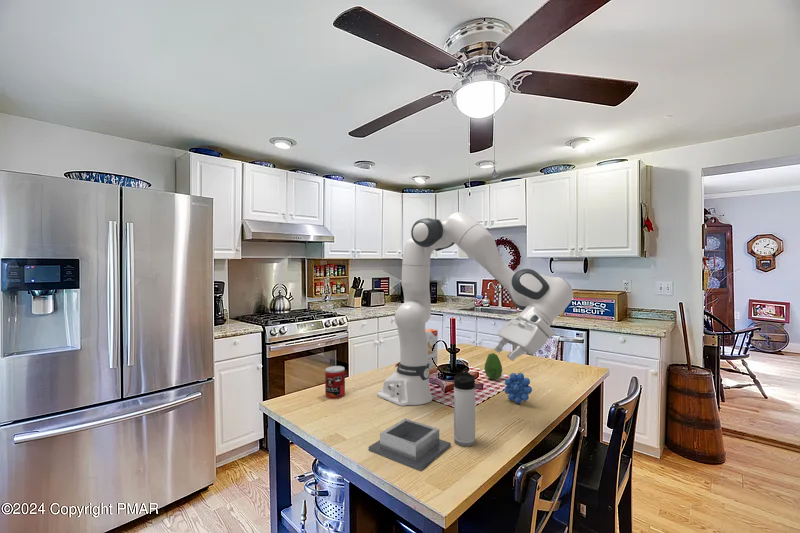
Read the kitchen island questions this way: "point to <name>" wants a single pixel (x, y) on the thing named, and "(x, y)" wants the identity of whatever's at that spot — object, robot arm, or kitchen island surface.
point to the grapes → (517, 387)
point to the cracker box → (431, 339)
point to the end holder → (410, 444)
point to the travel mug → (464, 409)
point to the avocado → (493, 367)
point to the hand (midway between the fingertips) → (502, 354)
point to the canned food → (334, 382)
